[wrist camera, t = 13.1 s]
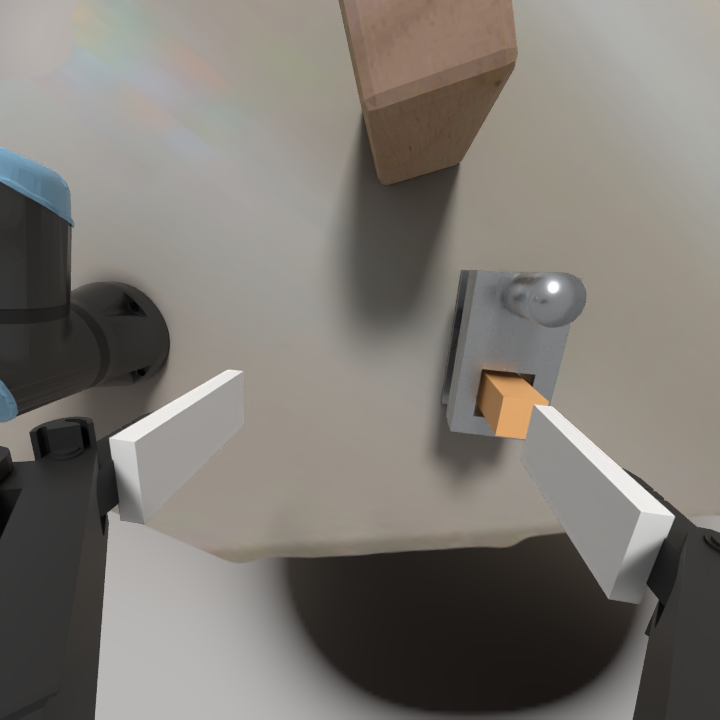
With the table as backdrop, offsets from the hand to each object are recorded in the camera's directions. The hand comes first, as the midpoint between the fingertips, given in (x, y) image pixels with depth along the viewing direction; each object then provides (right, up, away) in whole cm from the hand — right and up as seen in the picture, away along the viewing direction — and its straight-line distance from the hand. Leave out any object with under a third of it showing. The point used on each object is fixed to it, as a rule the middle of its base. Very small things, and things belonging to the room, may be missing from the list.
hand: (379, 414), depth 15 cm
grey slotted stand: (+16, +5, +29) cm, 33 cm away
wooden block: (+5, +29, +24) cm, 38 cm away
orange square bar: (+16, +1, +29) cm, 33 cm away
